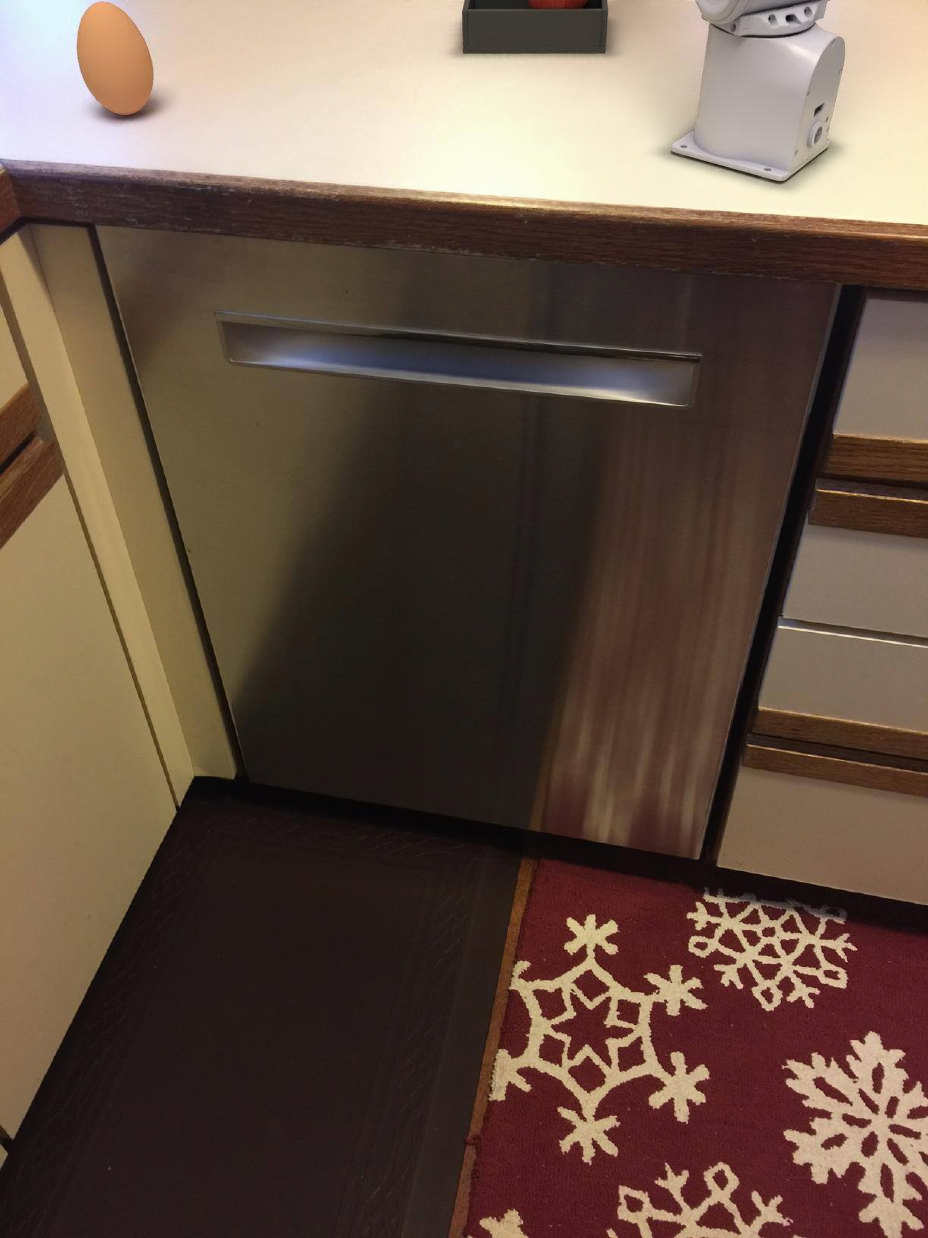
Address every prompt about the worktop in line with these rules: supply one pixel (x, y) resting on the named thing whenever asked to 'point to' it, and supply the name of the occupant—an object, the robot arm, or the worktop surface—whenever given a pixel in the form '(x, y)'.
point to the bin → (533, 27)
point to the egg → (114, 59)
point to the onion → (557, 4)
